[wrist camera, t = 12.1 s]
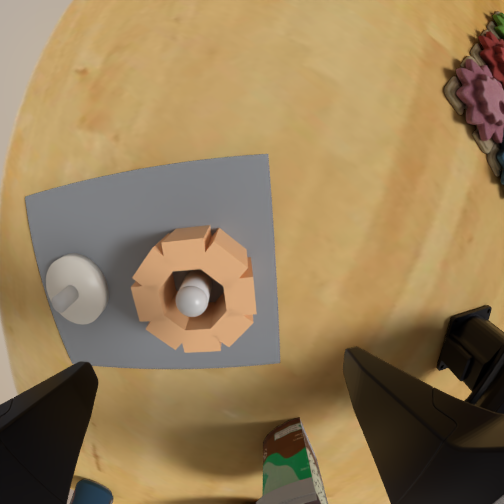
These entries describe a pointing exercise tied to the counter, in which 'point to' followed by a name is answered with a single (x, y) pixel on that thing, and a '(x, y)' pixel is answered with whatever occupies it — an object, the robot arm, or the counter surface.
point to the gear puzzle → (484, 93)
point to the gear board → (138, 247)
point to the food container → (290, 467)
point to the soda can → (91, 493)
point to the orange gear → (217, 313)
